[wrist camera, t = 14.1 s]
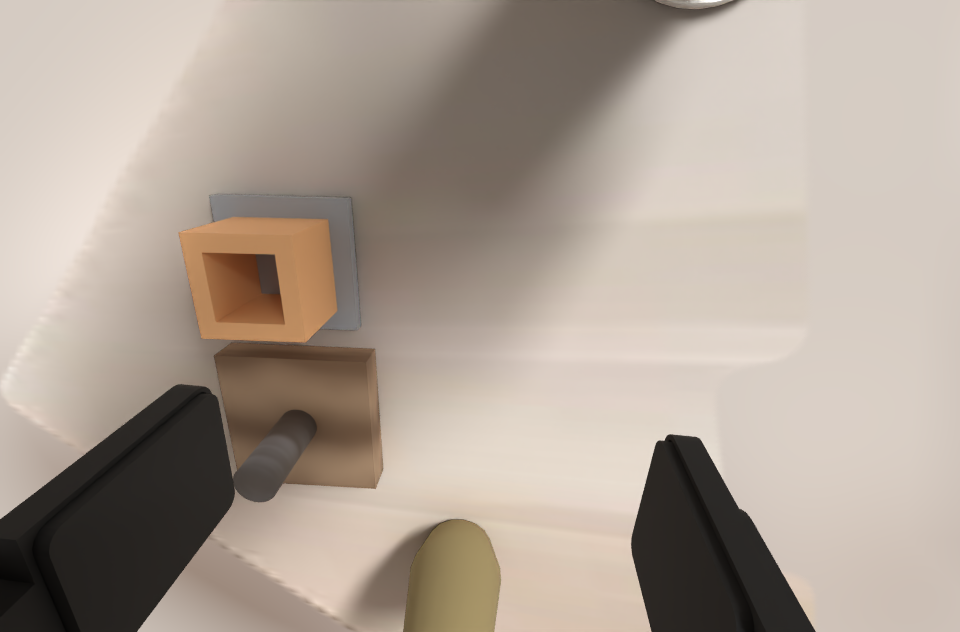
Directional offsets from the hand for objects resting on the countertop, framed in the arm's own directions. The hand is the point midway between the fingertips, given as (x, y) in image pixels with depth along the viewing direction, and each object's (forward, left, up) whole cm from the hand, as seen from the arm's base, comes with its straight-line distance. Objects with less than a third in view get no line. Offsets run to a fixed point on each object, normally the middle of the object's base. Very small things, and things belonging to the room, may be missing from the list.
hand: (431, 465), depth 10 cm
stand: (+16, -15, -26) cm, 34 cm away
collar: (+3, -15, -25) cm, 29 cm away
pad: (+3, -15, -26) cm, 30 cm away
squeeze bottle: (+30, -2, -26) cm, 40 cm away
